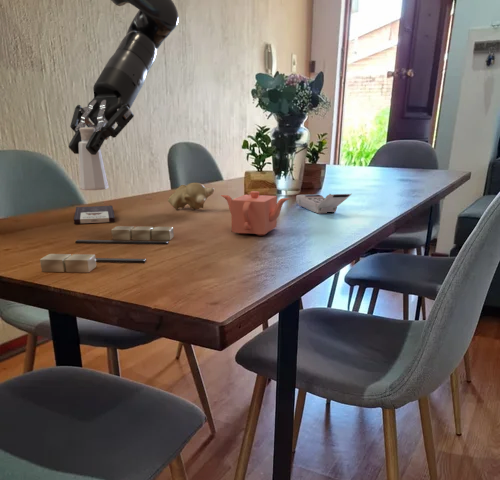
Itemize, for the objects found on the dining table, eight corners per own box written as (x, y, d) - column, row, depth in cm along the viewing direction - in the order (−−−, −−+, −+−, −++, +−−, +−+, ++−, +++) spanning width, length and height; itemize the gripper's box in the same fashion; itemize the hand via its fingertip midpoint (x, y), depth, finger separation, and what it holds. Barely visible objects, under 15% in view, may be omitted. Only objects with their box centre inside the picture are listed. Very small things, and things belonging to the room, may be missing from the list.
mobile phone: (330, 194, 118) (292, 181, 140) (328, 219, 120) (291, 203, 142) (353, 193, 119) (312, 181, 142) (351, 218, 122) (311, 202, 144)
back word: (75, 243, 98) (74, 232, 97) (88, 235, 104) (86, 225, 104) (167, 244, 97) (166, 234, 96) (174, 236, 103) (174, 226, 103)
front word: (41, 271, 80) (39, 259, 79) (60, 259, 87) (58, 248, 86) (134, 273, 79) (133, 260, 78) (146, 261, 86) (145, 249, 85)
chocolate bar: (112, 205, 133) (114, 217, 117) (112, 209, 133) (115, 221, 117) (76, 207, 131) (73, 219, 115) (76, 210, 131) (74, 223, 115)
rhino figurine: (184, 183, 137) (212, 173, 128) (196, 207, 140) (224, 199, 131) (162, 195, 132) (189, 185, 124) (175, 220, 135) (202, 212, 126)
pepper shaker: (93, 186, 102) (85, 127, 98) (114, 187, 100) (108, 127, 96) (73, 189, 98) (65, 127, 93) (95, 191, 96) (88, 128, 91)
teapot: (231, 224, 115) (231, 186, 111) (296, 229, 110) (297, 189, 107) (210, 235, 104) (209, 193, 101) (280, 240, 100) (281, 197, 96)
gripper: (83, 67, 99) (41, 135, 95) (138, 63, 93) (96, 137, 88) (106, 97, 106) (68, 163, 101) (159, 96, 99) (121, 166, 94)
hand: (81, 150), depth 94 cm, fingers closed on pepper shaker, 4 cm apart
